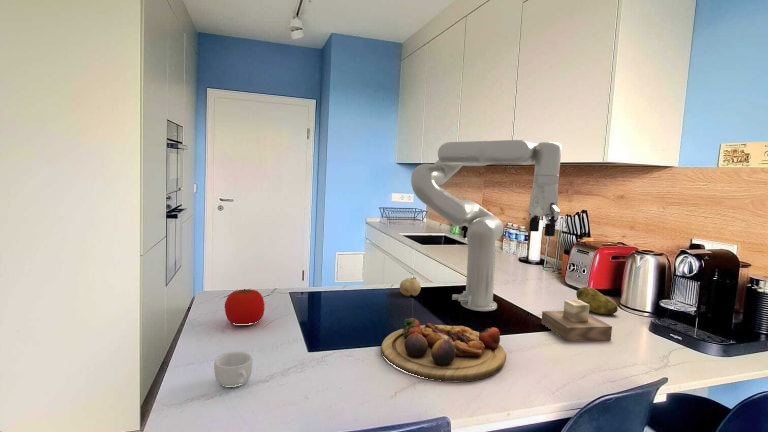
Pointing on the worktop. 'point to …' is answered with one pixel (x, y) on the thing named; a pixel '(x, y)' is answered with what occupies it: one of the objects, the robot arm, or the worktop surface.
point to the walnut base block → (576, 327)
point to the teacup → (233, 368)
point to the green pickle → (597, 301)
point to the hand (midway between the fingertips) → (541, 233)
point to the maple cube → (576, 310)
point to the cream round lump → (410, 287)
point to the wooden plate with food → (444, 351)
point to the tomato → (244, 306)
